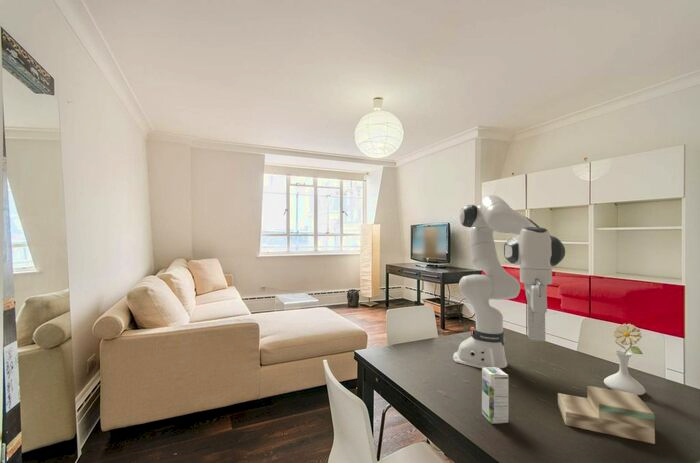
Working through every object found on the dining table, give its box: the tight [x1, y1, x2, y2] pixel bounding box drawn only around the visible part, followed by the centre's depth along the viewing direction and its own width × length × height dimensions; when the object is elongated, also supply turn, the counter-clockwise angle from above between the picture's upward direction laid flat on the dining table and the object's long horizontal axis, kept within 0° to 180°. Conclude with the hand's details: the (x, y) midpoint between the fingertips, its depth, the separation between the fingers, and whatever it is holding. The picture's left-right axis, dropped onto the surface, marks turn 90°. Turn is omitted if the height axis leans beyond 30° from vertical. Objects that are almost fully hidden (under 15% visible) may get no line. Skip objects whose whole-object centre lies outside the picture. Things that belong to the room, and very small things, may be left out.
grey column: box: [526, 293, 546, 342], centre depth 99 cm, size 4×4×14 cm
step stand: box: [557, 385, 656, 445], centre depth 92 cm, size 20×12×8 cm, turn 65°
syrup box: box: [481, 367, 509, 425], centre depth 95 cm, size 6×6×14 cm
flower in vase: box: [603, 323, 646, 396], centre depth 111 cm, size 13×11×25 cm
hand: (536, 320), depth 99 cm, fingers closed on grey column, 4 cm apart
